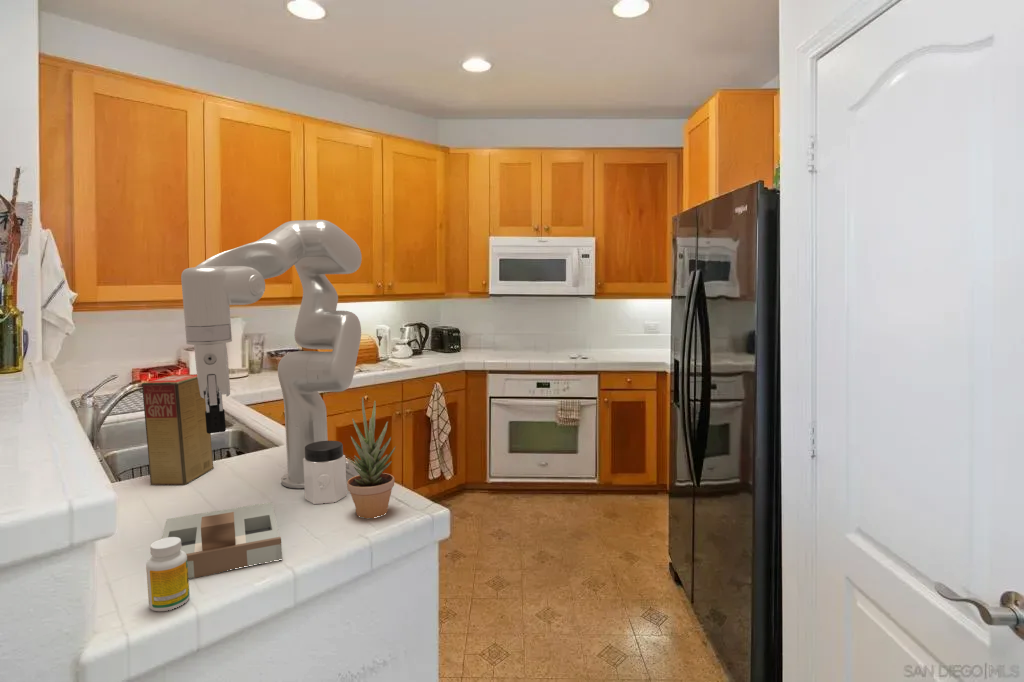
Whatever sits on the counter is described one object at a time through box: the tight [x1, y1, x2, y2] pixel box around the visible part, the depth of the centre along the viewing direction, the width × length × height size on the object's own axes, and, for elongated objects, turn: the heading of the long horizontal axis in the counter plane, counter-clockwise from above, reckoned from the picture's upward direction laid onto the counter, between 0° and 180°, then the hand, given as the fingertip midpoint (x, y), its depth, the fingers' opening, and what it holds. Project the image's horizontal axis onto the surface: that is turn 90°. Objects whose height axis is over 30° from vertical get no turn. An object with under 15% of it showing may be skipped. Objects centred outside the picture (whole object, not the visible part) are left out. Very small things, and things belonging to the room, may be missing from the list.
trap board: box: [161, 501, 283, 580], centre depth 109 cm, size 19×22×4 cm
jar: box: [303, 440, 348, 505], centre depth 133 cm, size 9×8×12 cm
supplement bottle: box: [145, 537, 191, 612], centre depth 90 cm, size 5×5×10 cm
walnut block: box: [201, 512, 236, 551], centre depth 102 cm, size 5×5×5 cm
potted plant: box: [346, 396, 397, 519], centre depth 123 cm, size 10×10×25 cm
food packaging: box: [141, 373, 215, 486], centre depth 149 cm, size 13×9×25 cm
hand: (216, 431), depth 112 cm, fingers closed
